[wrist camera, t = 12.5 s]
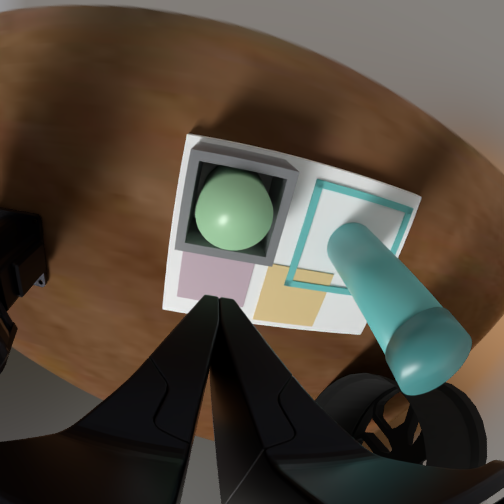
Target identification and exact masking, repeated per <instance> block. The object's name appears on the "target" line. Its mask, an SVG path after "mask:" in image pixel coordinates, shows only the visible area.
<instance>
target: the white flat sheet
mask: <svg viewBox="0 0 504 504" xmlns="http://www.w3.org/2000/svg"><path fill="white" fill-rule="evenodd" d="M199 141H201V142H206V143H212V144H217V145H222V146H227V147H232V148H237V149H242V150H247V151H251V152H256V153H260V154H265V155H269V156H273V157H277V158H282V159H286V160H287V161H288V162H289V163H290V164H291V165H292V166H293V167H295V168H296V169H297V170H298V171H299V172H300V173H299V176H298V180H297V183H296V187H295V190H294V194H293V197H292V201H291V204H290V208H289V211H288V215H287V218H286V222H285V225H284V229H283V232H282V235H281V239H280V242H279V246H278V249H277V252H276V256H275V259H274V262H273V266H272V267H270V266H264V265H258V264H253V263H247V262H241V261H235V260H230V259H224V258H218V257H213V256H207V255H202V254H196V253H190V252H185V251H179V250H174V249H175V242H176V234H177V227H178V221H179V214H180V207H181V201H182V195H183V189H184V183H185V178H186V172H187V167H188V161H189V156H190V151H191V148H192V147H194V146H195V145H196V144H197V143H198V142H199ZM217 166H219V164H213V163H208V162H203V165H202V170H201V175H200V180H199V186H198V191H197V197H196V202H195V208H194V213H193V217H195V211H196V205H197V202H198V199H199V196H200V193H201V190H202V187H203V184H204V182H205V179H206V177H207V176H208V174H209V173H210V172H211V171H212V170H213V169H214V168H216V167H217ZM257 173H258V172H257ZM258 175H259V176H260V178H261V180H262V182H263V184H264V186H265V189H266V191H267V193H269V189H270V185H271V182H272V178H273V176H271V175H267V174H262V173H258ZM421 198H422V197H420V196H419V195H417V194H414V193H412V192H409V191H406V190H404V189H401V188H398V187H395V186H393V185H390V184H387V183H384V182H381V181H378V180H375V179H372V178H369V177H366V176H363V175H360V174H357V173H353V172H350V171H347V170H344V169H340V168H337V167H334V166H330V165H327V164H323V163H320V162H316V161H312V160H309V159H305V158H301V157H298V156H294V155H290V154H286V153H282V152H278V151H274V150H269V149H265V148H261V147H256V146H252V145H247V144H242V143H238V142H233V141H228V140H223V139H218V138H212V137H207V136H201V135H195V134H187V137H186V142H185V148H184V153H183V158H182V164H181V169H180V175H179V181H178V187H177V193H176V200H175V206H174V213H173V220H172V227H171V235H170V242H169V250H168V259H167V268H166V277H165V287H164V298H163V309H165V310H170V311H175V312H181V313H187V314H188V312H189V311H190V310H191V309H192V308H193V307H194V306H195V305H196V303H197V302H198V301H199V300H200V299H201V298H202V297H203V296H204V295H212V296H217V297H218V298H220V297H224V298H231V299H234V300H235V301H236V303H237V304H238V305H239V307H240V308H241V309H242V311H243V312H244V313H245V314H246V316H247V317H248V318H249V320H250V321H251V322H252V324H259V325H267V326H275V327H284V328H292V329H302V330H311V331H322V332H333V333H345V334H358V335H360V334H361V333H362V331H363V329H364V327H365V325H366V323H367V321H366V319H365V318H364V316H363V314H362V312H361V311H360V309H359V307H358V305H357V304H356V302H355V300H354V299H353V297H352V295H351V294H350V292H349V290H348V288H347V287H346V285H345V283H344V282H343V280H342V278H341V277H340V275H339V273H338V272H337V270H336V269H335V267H334V265H333V264H332V262H331V260H330V259H329V257H328V254H327V244H328V241H329V238H330V236H331V235H332V234H333V232H334V231H335V230H336V229H337V228H339V227H340V226H342V225H344V224H347V223H352V222H355V223H360V224H363V225H364V226H366V227H367V228H368V229H369V230H370V231H371V232H372V233H373V234H374V235H375V236H376V237H377V238H378V239H379V240H380V241H381V242H382V243H383V244H384V245H385V246H386V247H387V248H388V249H389V250H390V251H391V252H392V253H393V254H394V255H395V256H396V257H397V258H398V256H399V254H400V252H401V249H402V247H403V245H404V242H405V240H406V237H407V235H408V232H409V230H410V227H411V225H412V222H413V220H414V217H415V214H416V212H417V209H418V206H419V203H420V201H421Z"/></svg>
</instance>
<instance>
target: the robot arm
mask: <svg viewBox="0 0 504 504" xmlns="http://www.w3.org/2000/svg"><path fill="white" fill-rule="evenodd" d="M35 219H36V221H37V223H36V222H35ZM41 280H42V281H41ZM46 284H47V276H46V263H45V252H44V243H43V235H42V220H41V217H40V216H39V215H38V214H34V213H28V212H23V211H17V210H12V209H6V208H1V207H0V373H1V372H2V371H3V369H4V367H5V365H6V362H7V359H8V356H9V353H10V350H11V347H12V344H13V341H14V338H15V335H16V332H17V329H18V328H17V326H16V325H15V323H14V322H12V320H11V318H10V317H9V315H8V313H7V311H8V310H9V308H10V307H11V306H12V305H13V304H14V302H15V301H16V300H17V299H18V298H19V297H23V296H24V295H25V294H26V293H27V291H28V290H29V289H30V288H31V287H32V286H33V285H36V286H40V287H44V286H45V285H46ZM209 369H210V387H211V402H212V415H213V427H214V439H215V449H216V459H217V468H218V479H219V488H220V495H221V504H488V503H487V499H488V498H489V497H491V496H493V495H494V494H495V493H497V492H498V491H500V490H501V489H502V488H504V461H500V460H493V461H491V462H489V463H487V464H485V465H484V466H481V467H479V468H475V469H466V470H459V469H447V468H439V467H432V466H425V465H419V464H413V463H407V462H402V461H397V460H392V459H388V458H384V457H381V456H378V455H376V454H374V453H372V452H370V451H369V450H367V449H366V448H364V447H363V446H362V445H361V444H359V443H358V442H357V441H356V440H355V439H354V438H353V437H352V436H351V435H350V434H348V433H347V432H346V431H345V430H344V429H343V428H342V427H341V426H340V425H339V424H338V423H337V422H336V421H335V420H333V419H332V418H331V417H330V416H329V415H328V414H327V413H326V412H325V411H324V410H323V409H322V408H321V407H320V406H319V405H318V404H317V403H316V402H315V401H314V400H313V399H312V397H311V396H310V395H309V394H308V393H307V392H306V391H305V389H304V388H303V387H302V386H301V385H300V383H299V382H298V381H297V380H296V378H295V377H293V376H292V374H291V372H290V371H289V370H288V369H287V367H286V366H285V365H284V364H283V362H282V361H281V360H280V359H279V357H278V356H277V355H276V353H275V352H274V351H273V350H272V348H271V347H270V346H269V344H268V343H267V342H266V341H265V339H264V338H263V337H262V335H261V334H260V333H259V332H258V330H257V329H256V328H255V326H254V325H253V324H252V322H251V321H250V320H249V318H248V317H247V316H246V314H245V313H244V312H243V311H242V309H241V308H240V307H239V305H238V304H237V303H236V301H235V300H234V299H231V298H224V297H220V298H218V297H217V296H212V295H204V296H203V297H202V298H201V299H200V300H199V301H198V302H197V303H196V305H195V306H194V307H193V308H192V309H191V310H190V311H189V312H188V314H187V315H186V316H185V317H184V318H183V319H182V320H181V321H180V323H179V324H178V325H177V326H176V327H175V328H174V329H173V330H172V332H171V333H170V334H169V335H168V336H167V337H166V338H165V339H164V341H163V342H162V343H161V344H160V345H159V346H158V347H157V348H156V350H155V351H154V352H153V353H152V354H151V355H150V356H149V358H148V359H147V360H146V361H145V362H144V363H143V364H142V365H141V366H140V367H139V369H138V370H137V371H136V372H135V373H134V374H133V375H132V376H131V377H130V378H129V379H128V380H127V381H126V382H125V383H123V384H122V385H121V386H120V387H119V388H118V389H117V390H116V391H114V392H113V393H112V394H111V395H110V396H108V397H107V398H106V399H105V400H104V401H103V402H101V403H100V404H99V405H97V406H96V407H95V408H94V409H93V410H91V411H90V412H89V413H88V414H87V415H86V416H84V417H83V418H82V419H80V420H79V421H78V422H76V423H75V424H74V425H72V426H71V427H69V428H67V429H65V430H63V431H61V432H58V433H55V434H50V435H45V436H39V437H33V438H27V439H20V440H13V441H4V442H0V504H180V502H181V497H182V493H183V488H184V483H185V479H186V474H187V469H188V465H189V460H190V455H191V451H192V446H193V441H194V437H195V432H196V428H197V423H198V419H199V414H200V410H201V405H202V401H203V396H204V392H205V387H206V383H207V379H208V374H209ZM494 504H504V497H503V498H501V499H500V500H498V501H497V502H495V503H494Z"/></svg>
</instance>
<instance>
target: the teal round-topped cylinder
mask: <svg viewBox="0 0 504 504" xmlns="http://www.w3.org/2000/svg"><path fill="white" fill-rule="evenodd" d="M327 254H328V257H329V259H330V260H331V262H332V264H333V265H334V267H335V269H336V270H337V272H338V273H339V275H340V277H341V278H342V280H343V282H344V283H345V285H346V287H347V288H348V290H349V292H350V294H351V295H352V297H353V299H354V300H355V302H356V304H357V305H358V307H359V309H360V311H361V312H362V314H363V316H364V318H365V319H366V321H367V323H368V325H369V326H370V328H371V330H372V332H373V334H374V335H375V337H376V339H377V341H378V343H379V344H380V346H381V348H382V350H383V352H384V354H385V359H386V362H387V364H388V366H389V367H390V369H391V371H392V373H393V375H394V377H395V379H396V381H397V383H398V385H399V387H400V389H401V391H402V392H403V393H404V394H407V395H420V394H423V393H426V392H429V391H431V390H433V389H435V388H437V387H438V386H440V385H442V384H443V383H444V382H446V381H447V380H448V379H449V378H451V377H452V376H453V375H454V374H455V373H456V372H457V371H458V370H459V368H460V367H461V366H462V365H463V363H464V362H465V360H466V359H467V357H468V355H469V353H470V350H471V346H472V340H471V337H470V335H469V334H468V333H467V332H466V331H465V329H464V328H463V327H462V326H461V325H460V323H459V322H458V321H457V320H456V319H455V317H454V316H453V315H452V314H451V313H450V312H449V311H448V310H447V309H445V308H443V307H442V306H441V304H440V303H439V302H438V301H437V300H436V299H435V298H434V296H433V295H432V294H431V293H430V292H429V291H428V290H427V289H426V288H425V286H424V285H423V284H422V283H421V282H420V281H419V280H418V279H417V278H416V277H415V276H414V275H413V273H412V272H411V271H410V270H409V269H408V268H407V267H406V266H405V265H404V264H403V263H402V262H401V261H400V260H399V259H398V258H397V257H396V256H395V255H394V254H393V253H392V252H391V251H390V250H389V249H388V248H387V247H386V246H385V245H384V244H383V243H382V242H381V241H380V240H379V239H378V238H377V237H376V236H375V235H374V234H373V233H372V232H371V231H370V230H369V229H368V228H367V227H366V226H364V225H363V224H360V223H355V222H352V223H347V224H344V225H342V226H340V227H339V228H337V229H336V230H335V231H334V232H333V234H332V235H331V236H330V238H329V241H328V244H327Z"/></svg>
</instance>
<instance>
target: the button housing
mask: <svg viewBox="0 0 504 504" xmlns="http://www.w3.org/2000/svg"><path fill="white" fill-rule="evenodd" d="M203 162H208V163H213V164H219V165H224V166H229V167H234V168H239V169H244V170H248V171H253V172H258V173H262V174H267V175H271V176H273V178H272V182H271V185H270V189H269V193H268V195H269V198H270V200H271V203H272V206H273V220H272V224H271V227H270V229H269V231H268V233H267V234H266V236H265V237H264V238H263V239H262V240H261V241H260V242H258V243H257V244H255V245H253V246H252V247H249V248H247V249H243V250H225V249H221V248H219V247H216V246H214V245H213V244H211V243H210V242H209V241H207V240H206V239H205V238H204V236H203V235H202V234H201V232H200V231H199V228H198V226H197V223H196V218H195V217H193V213H194V208H195V202H196V197H197V191H198V186H199V180H200V175H201V170H202V165H203ZM299 173H300V172H299V171H298V170H297V169H296V168H295V167H293V166H292V165H291V164H290V163H289V162H288V161H287V160H286V159H282V158H277V157H273V156H269V155H265V154H260V153H256V152H251V151H247V150H242V149H237V148H232V147H227V146H222V145H217V144H212V143H206V142H201V141H199V142H198V143H197V144H196V145H195V146H194V147H192V148H191V151H190V156H189V161H188V167H187V172H186V178H185V183H184V189H183V195H182V201H181V207H180V214H179V221H178V227H177V234H176V242H175V249H174V250H179V251H185V252H190V253H196V254H202V255H207V256H213V257H218V258H224V259H230V260H235V261H241V262H247V263H253V264H258V265H264V266H270V267H272V266H273V262H274V259H275V256H276V252H277V249H278V246H279V242H280V239H281V235H282V232H283V229H284V225H285V222H286V218H287V215H288V211H289V208H290V204H291V201H292V197H293V194H294V190H295V187H296V183H297V180H298V176H299Z"/></svg>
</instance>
